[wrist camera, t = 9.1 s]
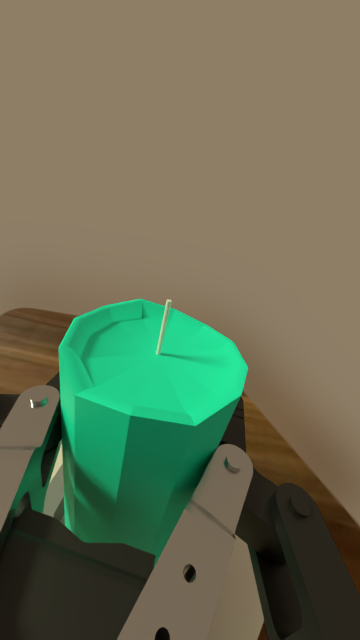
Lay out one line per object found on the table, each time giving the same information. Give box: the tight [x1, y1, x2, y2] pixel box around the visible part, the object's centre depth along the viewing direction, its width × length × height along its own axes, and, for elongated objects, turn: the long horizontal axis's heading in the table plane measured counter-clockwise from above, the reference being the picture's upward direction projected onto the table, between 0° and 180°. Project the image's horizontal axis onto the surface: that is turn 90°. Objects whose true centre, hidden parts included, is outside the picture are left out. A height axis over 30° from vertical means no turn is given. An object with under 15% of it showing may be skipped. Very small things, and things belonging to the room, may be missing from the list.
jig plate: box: [43, 444, 264, 640], centre depth 15 cm, size 16×14×4 cm
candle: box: [59, 299, 248, 567], centre depth 10 cm, size 6×6×12 cm
